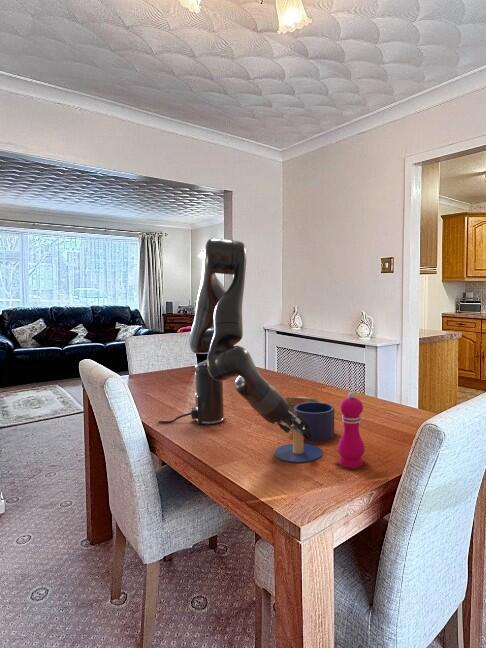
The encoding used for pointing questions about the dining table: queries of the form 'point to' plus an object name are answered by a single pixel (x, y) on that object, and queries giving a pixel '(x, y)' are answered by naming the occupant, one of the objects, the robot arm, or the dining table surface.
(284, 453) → the lid
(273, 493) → the dining table surface
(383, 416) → the dining table surface
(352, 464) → the pepper mill
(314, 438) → the can
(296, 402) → the tin
